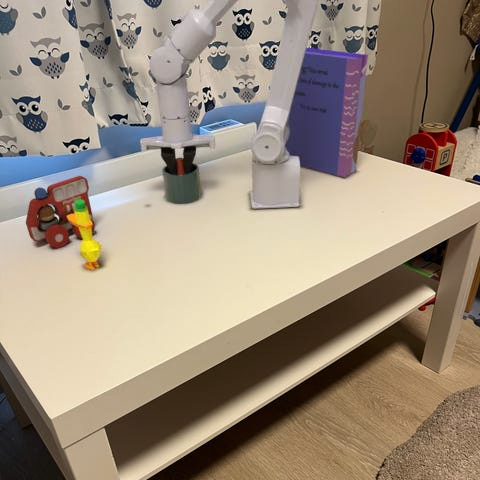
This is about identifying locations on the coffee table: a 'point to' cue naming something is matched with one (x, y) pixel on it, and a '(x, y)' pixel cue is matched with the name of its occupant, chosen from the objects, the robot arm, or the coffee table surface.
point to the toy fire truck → (57, 211)
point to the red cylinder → (180, 166)
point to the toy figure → (85, 234)
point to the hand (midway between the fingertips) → (182, 183)
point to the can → (182, 185)
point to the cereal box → (328, 111)
